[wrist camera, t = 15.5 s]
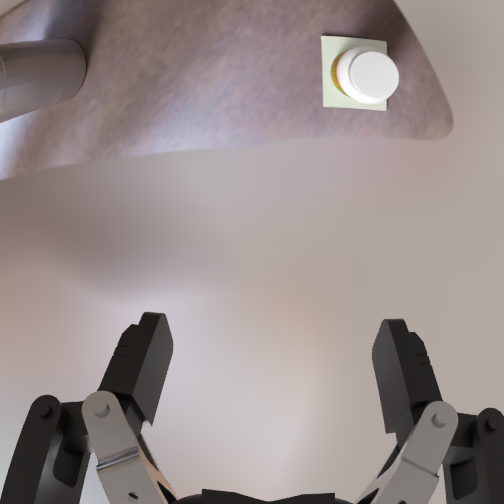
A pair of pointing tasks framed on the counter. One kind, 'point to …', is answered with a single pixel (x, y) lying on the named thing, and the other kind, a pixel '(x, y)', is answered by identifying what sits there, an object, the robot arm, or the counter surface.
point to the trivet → (329, 52)
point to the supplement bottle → (365, 74)
